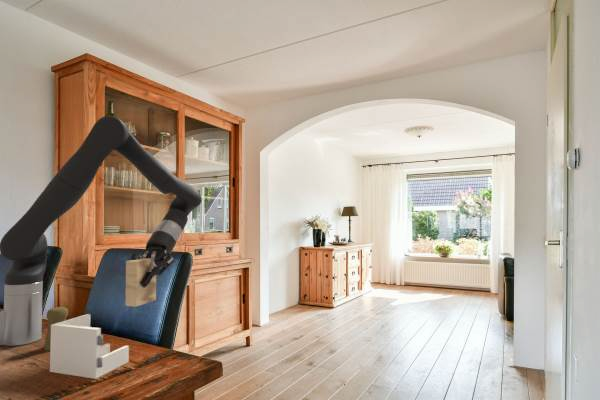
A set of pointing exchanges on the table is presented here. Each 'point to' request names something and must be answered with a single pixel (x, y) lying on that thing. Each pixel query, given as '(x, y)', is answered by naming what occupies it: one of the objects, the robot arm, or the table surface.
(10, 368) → the table surface
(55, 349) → the white open box
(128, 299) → the block
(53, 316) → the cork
